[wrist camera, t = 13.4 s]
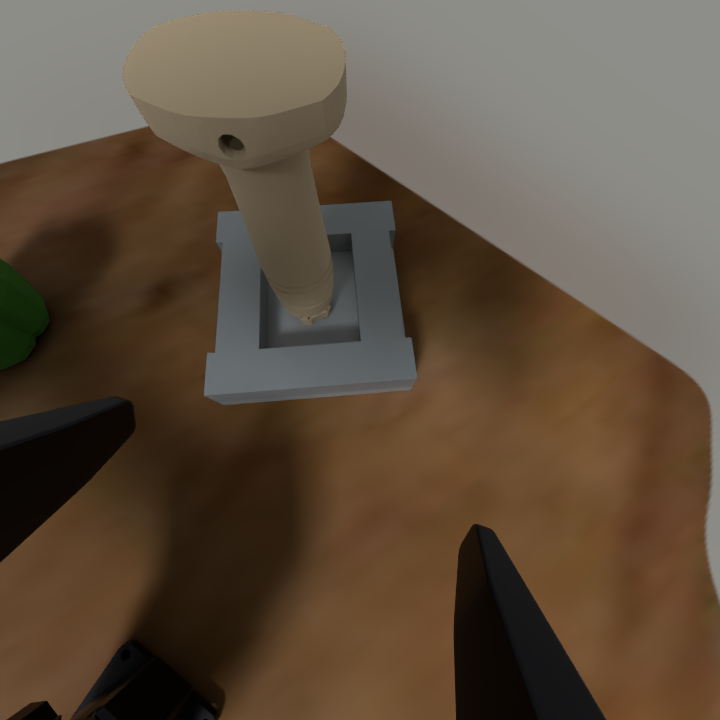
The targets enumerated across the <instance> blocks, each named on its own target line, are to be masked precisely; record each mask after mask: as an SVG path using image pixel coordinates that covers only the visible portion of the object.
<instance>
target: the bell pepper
mask: <svg viewBox="0 0 720 720" xmlns="http://www.w3.org/2000/svg"><path fill="white" fill-rule="evenodd" d="M49 321H50V318H49V315H48V311H47V308H46V305H45V302H44V299H43V297H42V296H41V295H40V294H39V293H38V292H37V291H36V290H35V289H34V288H33V286H32V285H31V284H30V283H28V282H27V281H26V280H25V279H24V278H23V277H22V276H21V275H20V274H19V273H18V272H16V271H15V270H14V269H13V268H12V267H11V266H10V265H9V264H7V263H6V262H4V261H3V260H2V259H0V370H2V369H6V368H8V367H11V366H13V365H15V364H17V363H19V362H21V361H23V360H25V359H27V357H28V356H29V354H30V353H31V351H32V350H33V348H34V347H35V338H36V337H37V336H39V335H40V334H42V333H43V332H44V330H45V328H46V327H47V325H48V323H49Z"/></svg>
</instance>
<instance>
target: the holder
mask: <svg viewBox="0 0 720 720" xmlns="http://www.w3.org/2000/svg"><path fill="white" fill-rule="evenodd" d="M320 209H321V213H322V217H323V221H324V225H325V229H326V234H327V238H328V242H329V246H330V251H331V257H332V264H333V293H332V300H331V302H330V305H331V313H330V315H329V316H328V317H327V318H321V319H319V320H317V321H316V322H314V324H313V325H305V324H303V322H302V321H301V320H300V319H299V318H297V317H295V316H291V315H290V314H289V313H288V312H287V310H286V308H285V306H284V305H283V304H282V302H281V301H280V300H279V298H278V297H277V296H276V294H275V292H274V291H273V289H272V288H271V286H270V284H269V282H268V280H267V278H266V276H265V274H264V272H263V270H262V268H261V265H260V262H259V260H258V257H257V254H256V252H255V249H254V246H253V244H252V241H251V238H250V236H249V233H248V230H247V228H246V225H245V222H244V220H243V218H242V215H241V213H240V211H226V212H218V220H217V233H216V244H217V245H218V247H219V248H220V250H221V251H222V260H221V275H220V289H219V304H218V318H217V333H216V347H215V353H207V361H206V374H205V387H204V396H206V397H208V398H210V399H212V400H214V401H216V402H218V403H220V404H222V405H233V404H245V403H257V402H270V401H282V400H294V399H307V398H319V397H331V396H344V395H356V394H368V393H380V392H393V391H405V390H411V388H412V386H413V385H414V383H415V382H416V380H417V372H416V365H415V359H414V352H413V345H412V338H411V337H409V338H406V337H405V330H404V323H403V316H402V308H401V301H400V294H399V287H398V280H397V273H396V265H395V258H394V251H393V245H394V238H395V231H396V229H395V222H394V215H393V208H392V201H378V202H362V203H347V204H332V205H320Z"/></svg>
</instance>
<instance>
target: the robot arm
mask: <svg viewBox="0 0 720 720" xmlns="http://www.w3.org/2000/svg"><path fill="white" fill-rule="evenodd" d="M135 427H136V422H135V413H134V406H133V403H132V402H131V401H129V400H126V399H124V398H121V397H109V398H105V399H100V400H96V401H91V402H87V403H82V404H78V405H73V406H69V407H64V408H60V409H55V410H50V411H46V412H41V413H37V414H32V415H28V416H23V417H19V418H14V419H10V420H5V421H1V422H0V562H1V561H3V560H4V559H5V558H6V557H7V556H8V555H9V554H10V553H11V552H12V551H13V550H15V549H16V548H17V547H18V546H19V545H20V544H21V543H22V542H23V541H24V540H25V539H27V538H28V537H29V536H30V535H31V534H32V533H33V532H34V531H35V530H36V529H37V528H39V527H40V526H41V525H42V524H43V523H44V522H45V521H46V520H47V519H48V518H50V517H51V516H52V515H53V514H54V513H55V512H56V511H57V510H58V509H59V508H60V507H62V506H63V505H64V504H65V503H66V502H67V501H68V500H69V499H70V498H71V497H72V496H74V495H75V494H76V493H77V492H78V491H79V490H80V489H81V488H82V487H83V486H84V485H85V484H86V483H87V482H88V481H89V480H90V479H91V478H92V477H93V476H94V475H95V474H96V473H97V472H98V471H99V470H100V469H101V467H102V466H103V465H104V464H105V463H106V462H107V461H108V460H109V459H110V458H111V457H112V456H113V455H114V453H115V452H116V451H117V450H118V449H119V448H120V447H121V446H122V445H123V444H124V443H125V442H126V440H127V439H128V438H129V437H130V436H131V435H132V434H133V432H134V430H135ZM127 649H129V650H130V652H131V655H130V657H129V656H127V654H126V650H127ZM454 665H455V698H456V720H606V718H605V717H604V715H603V713H602V712H601V710H600V708H599V707H598V705H597V703H596V702H595V700H594V698H593V697H592V695H591V693H590V692H589V690H588V688H587V687H586V685H585V683H584V681H583V680H582V678H581V676H580V675H579V673H578V671H577V670H576V668H575V666H574V665H573V663H572V661H571V660H570V658H569V656H568V655H567V653H566V651H565V650H564V648H563V646H562V645H561V643H560V641H559V640H558V638H557V636H556V635H555V633H554V631H553V630H552V628H551V626H550V624H549V623H548V621H547V619H546V618H545V616H544V614H543V613H542V611H541V609H540V608H539V606H538V604H537V603H536V601H535V599H534V598H533V596H532V594H531V593H530V591H529V589H528V588H527V586H526V584H525V583H524V581H523V579H522V578H521V576H520V574H519V572H518V571H517V569H516V567H515V566H514V564H513V562H512V561H511V559H510V557H509V556H508V554H507V552H506V551H505V549H504V547H503V546H502V544H501V542H500V541H499V539H498V537H497V536H496V534H495V532H494V531H493V530H492V529H490V528H487V527H485V526H482V525H479V524H474V525H473V526H472V527H471V528H470V530H469V532H468V533H467V535H466V537H465V538H464V540H463V542H462V543H461V546H460V549H459V555H458V569H457V583H456V598H455V612H454ZM61 717H62V715H59V716H58V715H57V714H56V713H55V711H54V710H53V709H52V707H51V706H50V705H49V703H48V702H47V701H42V702H35V703H30V704H29V705H27V706H26V707H24V708H23V709H21V710H20V711H19V712H17V713H16V714H14V715H13V716H12V717H10V718H9V719H7V720H61ZM204 719H208V720H218V713H217V711H216V710H215V708H213V707H212V706H211V705H210V704H209V703H208V702H207V701H205V700H204V699H203V698H202V697H201V696H200V695H199V694H197V693H196V692H195V691H194V690H193V689H192V686H191V685H190V684H189V683H188V682H187V681H186V680H184V679H183V678H182V677H181V676H180V675H179V674H178V673H176V672H175V671H174V670H173V669H172V668H171V667H169V666H168V665H167V664H166V663H165V662H164V661H163V660H161V659H160V658H159V657H155V656H154V655H153V654H151V653H150V652H149V651H148V650H147V649H146V648H144V647H143V646H142V645H141V644H140V643H139V642H138V641H136V640H130V641H128V642H126V643H125V644H124V645H122V646H121V647H120V648H119V650H118V651H117V653H116V654H115V655H114V657H113V658H112V660H111V661H110V663H109V664H108V666H107V667H106V669H105V670H104V671H103V673H102V674H101V676H100V677H99V679H98V680H97V682H96V683H95V685H94V686H93V687H92V689H91V690H90V692H89V693H88V695H87V696H86V698H85V699H84V701H83V702H82V703H81V705H80V706H79V708H78V709H77V711H76V712H75V714H74V715H73V717H72V718H71V719H70V720H204Z"/></svg>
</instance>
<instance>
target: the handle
mask: <svg viewBox="0 0 720 720" xmlns="http://www.w3.org/2000/svg"><path fill="white" fill-rule="evenodd" d="M345 61H346V60H345V49H344V46H343V43H342V41H341V39H340V38H339V36H338V35H337V34H336V33H335V31H334V30H332V28H330V27H327V26H323V25H321V24H318V23H315V22H312V21H309V20H305V19H302V18H299V17H296V16H293V15H288V14H284V13H279V12H267V11H216V12H209V13H202V14H198V15H194V16H189V17H185V18H181V19H177V20H173V21H169V22H165V23H161V24H158V25H157V26H155V27H153V28H152V29H150V30H149V31H148V32H146V33H145V34H144V35H143V36H141V37H140V39H139V40H138V41H137V42H136V43H135V45H134V46H133V47H132V49H131V51H130V53H129V54H128V56H127V59H126V62H125V65H124V68H123V81H124V84H125V88H126V89H127V91H128V93H129V95H130V96H131V98H132V99H133V101H134V103H135V105H136V106H137V108H138V109H139V111H140V113H141V114H142V115H143V117H144V119H145V121H146V122H147V124H148V125H149V127H150V128H151V130H152V131H153V132H154V133H155V134H156V136H158V137H160V138H161V139H163V140H165V141H167V142H169V143H170V144H172V145H174V146H176V147H178V148H180V149H182V150H184V151H187V152H189V153H191V154H193V155H195V156H198V157H201V158H203V159H206V160H208V161H211V162H214V163H217V164H219V165H220V167H221V168H222V170H223V172H224V174H225V175H226V178H227V180H228V183H229V185H230V188H231V190H232V193H233V195H234V198H235V200H236V203H237V205H238V208H239V210H240V213H241V215H242V218H243V220H244V222H245V225H246V228H247V230H248V233H249V236H250V238H251V241H252V244H253V246H254V249H255V252H256V254H257V257H258V260H259V262H260V265H261V268H262V270H263V272H264V274H265V276H266V278H267V280H268V282H269V284H270V286H271V288H272V289H273V291H274V292H275V294H276V296H277V297H278V298H279V300H280V301H281V302H282V304H283V305H284V306H285V308H286V310H287V312H288V313H289V314H290V315H291V316H295V317H297V318H299V319H300V320H301V321H302V322H303V324H305V325H313V324H314V322H316V321H317V320H319V319H321V318H327V317H328V316H329V315H330V313H331V305H330V302H331V300H332V293H333V264H332V257H331V251H330V246H329V242H328V238H327V234H326V229H325V225H324V221H323V217H322V213H321V209H320V204H319V200H318V195H317V191H316V186H315V181H314V176H313V172H312V167H311V162H310V156H309V148H312V147H314V146H316V145H318V144H320V143H322V142H325V141H326V140H327V139H328V138H329V137H330V136H331V135H332V134H333V133H334V132H335V131H336V129H337V128H338V127H339V125H340V123H341V121H342V119H343V116H344V111H345V106H346V97H347V91H346V62H345Z"/></svg>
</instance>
